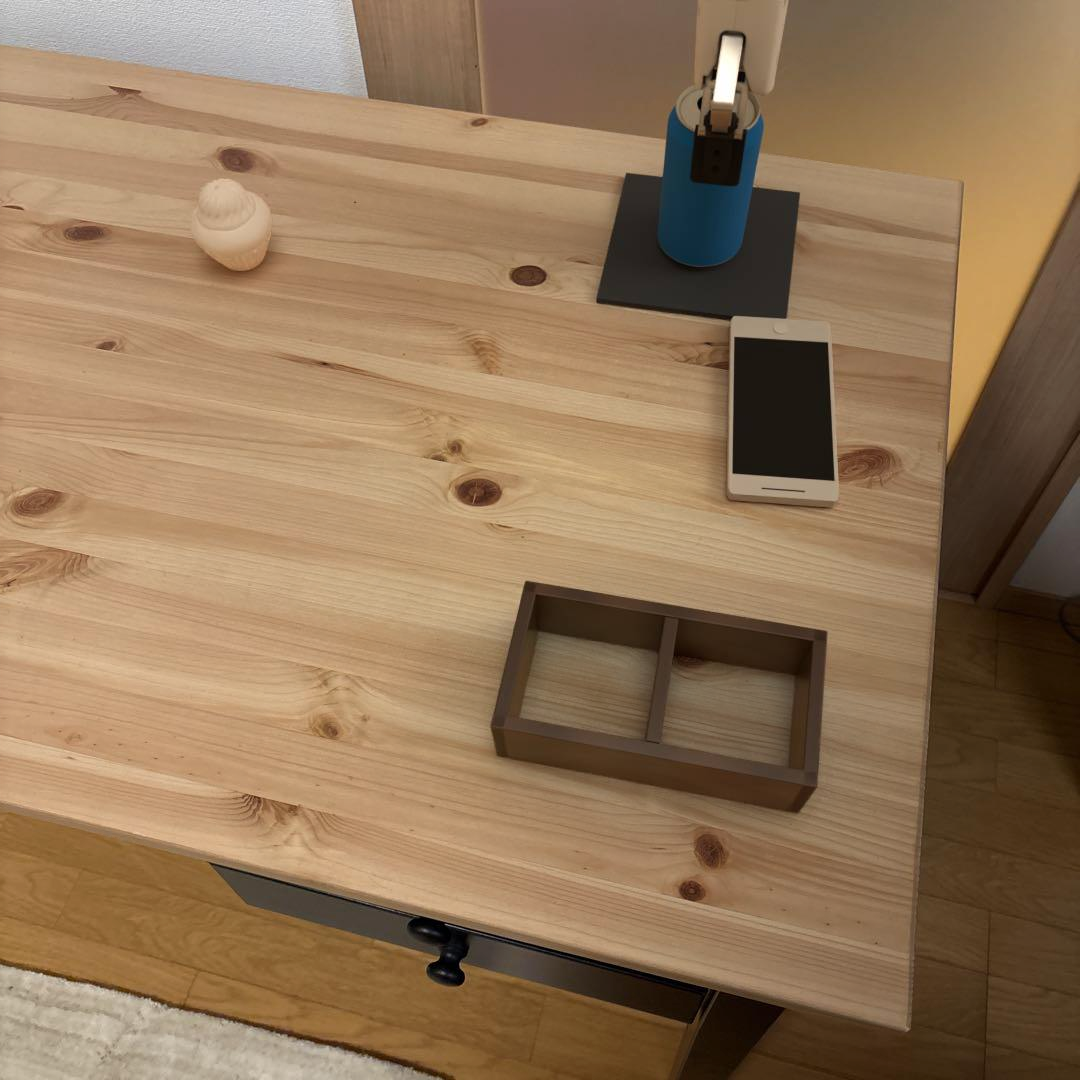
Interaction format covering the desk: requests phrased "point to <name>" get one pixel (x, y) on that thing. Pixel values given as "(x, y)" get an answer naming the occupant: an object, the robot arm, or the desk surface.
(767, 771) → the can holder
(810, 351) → the smartphone
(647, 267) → the mat
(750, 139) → the beverage can
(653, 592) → the desk surface
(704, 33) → the robot arm
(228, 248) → the muffin
